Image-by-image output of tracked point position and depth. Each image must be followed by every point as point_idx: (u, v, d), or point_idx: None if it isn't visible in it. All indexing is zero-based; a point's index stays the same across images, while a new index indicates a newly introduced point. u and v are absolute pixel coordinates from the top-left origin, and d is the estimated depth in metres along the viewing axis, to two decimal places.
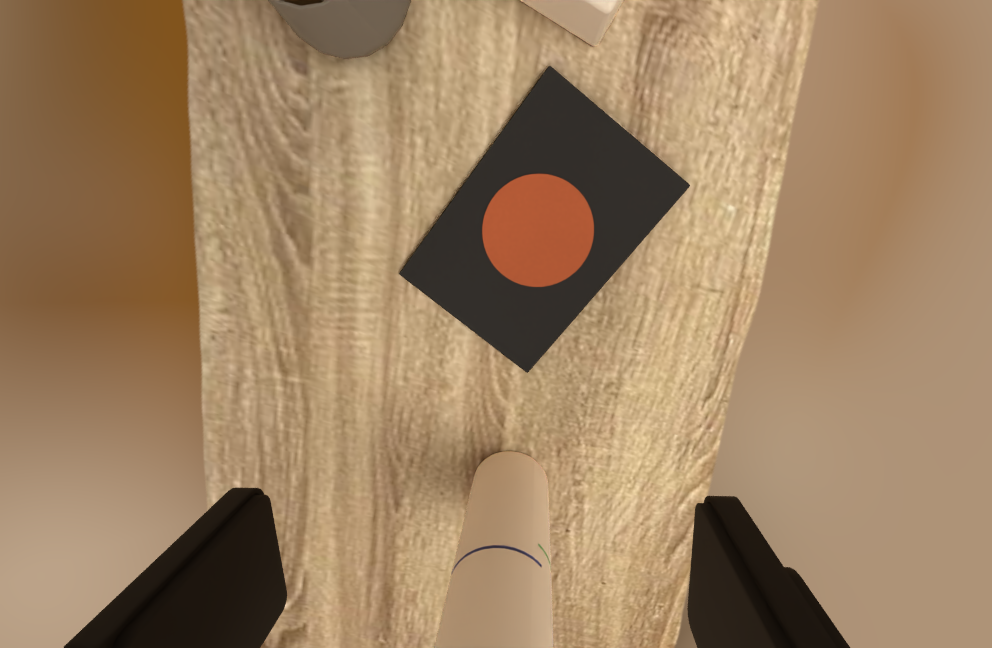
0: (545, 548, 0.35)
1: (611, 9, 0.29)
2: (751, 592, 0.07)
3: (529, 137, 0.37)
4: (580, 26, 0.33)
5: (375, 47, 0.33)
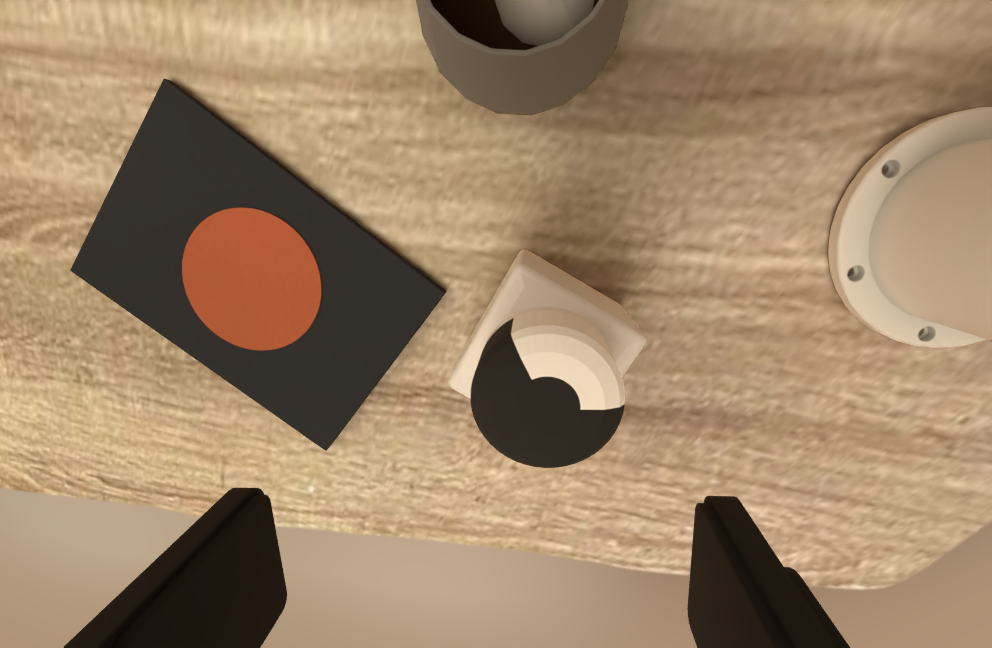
0: None
1: (451, 387, 0.24)
2: (751, 592, 0.07)
3: (362, 269, 0.29)
4: (472, 334, 0.27)
5: (432, 55, 0.22)
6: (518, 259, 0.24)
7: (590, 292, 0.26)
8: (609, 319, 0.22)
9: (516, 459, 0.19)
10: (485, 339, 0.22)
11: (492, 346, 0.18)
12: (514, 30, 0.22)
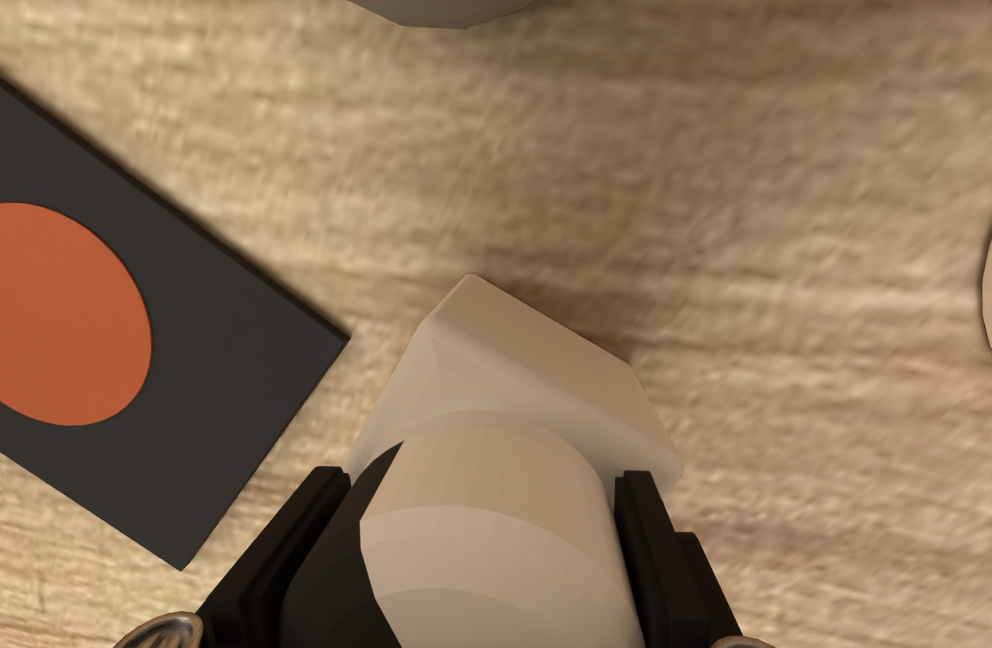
0: None
1: None
2: (641, 547, 0.08)
3: (213, 304, 0.18)
4: None
5: None
6: None
7: (577, 353, 0.15)
8: (609, 427, 0.11)
9: None
10: (368, 460, 0.12)
11: (319, 547, 0.07)
12: None
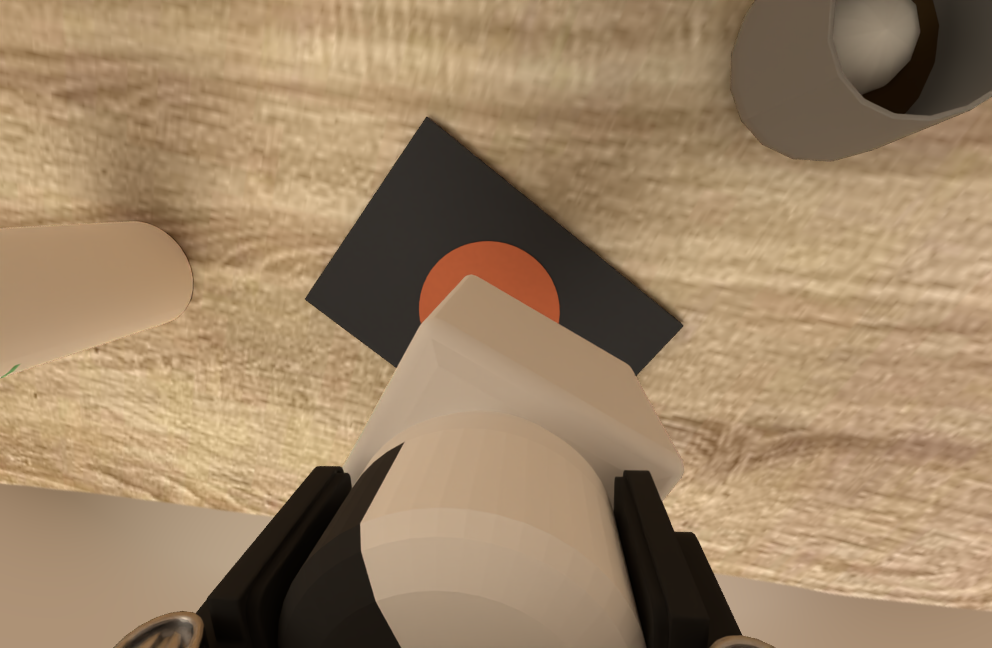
0: (17, 371, 0.23)
1: None
2: (640, 547, 0.08)
3: (603, 302, 0.30)
4: None
5: (742, 104, 0.23)
6: (442, 301, 0.13)
7: (577, 354, 0.15)
8: (609, 429, 0.11)
9: None
10: (368, 462, 0.12)
11: (319, 549, 0.07)
12: None
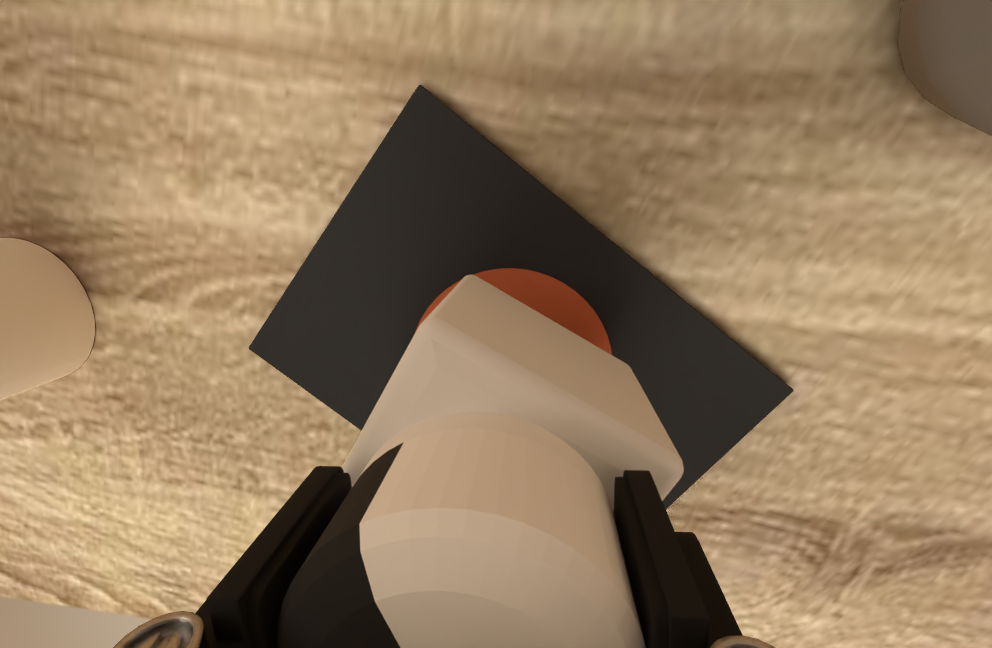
0: None
1: None
2: (640, 548, 0.08)
3: (676, 356, 0.20)
4: None
5: (943, 51, 0.14)
6: (441, 301, 0.13)
7: (577, 354, 0.15)
8: (609, 429, 0.11)
9: None
10: (367, 462, 0.12)
11: (318, 549, 0.07)
12: None
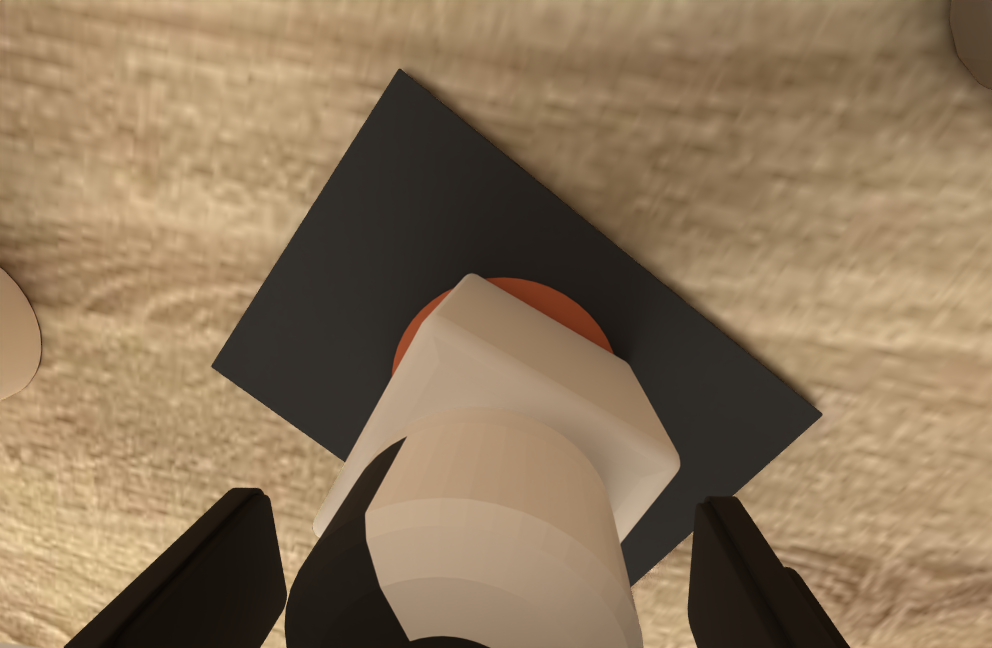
0: None
1: None
2: (751, 592, 0.07)
3: (691, 376, 0.18)
4: None
5: None
6: (443, 299, 0.13)
7: (576, 351, 0.15)
8: (607, 424, 0.11)
9: None
10: (371, 456, 0.12)
11: (325, 538, 0.08)
12: None
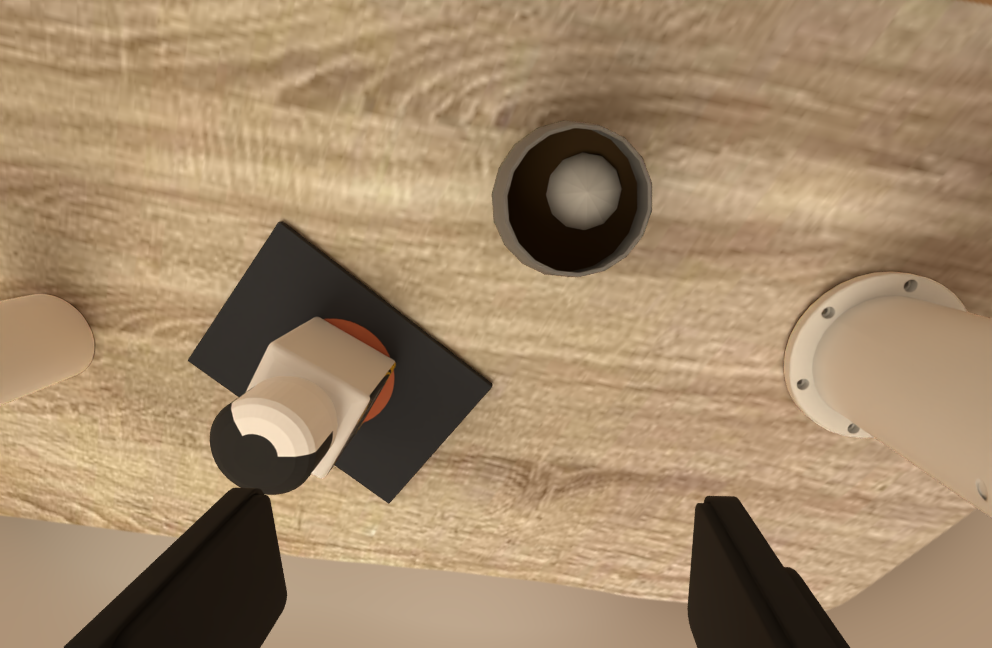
0: None
1: None
2: (751, 592, 0.07)
3: (428, 367, 0.37)
4: None
5: None
6: None
7: (353, 355, 0.34)
8: (338, 383, 0.30)
9: None
10: None
11: (221, 410, 0.26)
12: (560, 219, 0.30)
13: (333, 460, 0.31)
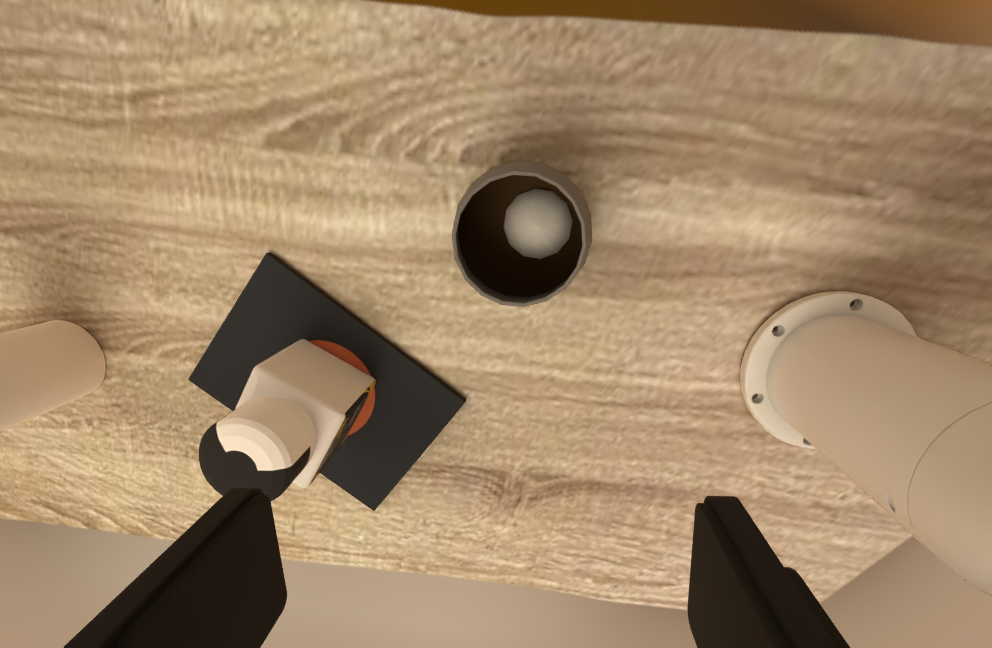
0: None
1: None
2: (751, 592, 0.07)
3: (405, 384, 0.40)
4: None
5: None
6: None
7: (334, 375, 0.37)
8: (316, 402, 0.33)
9: None
10: None
11: (208, 429, 0.29)
12: (517, 249, 0.33)
13: (314, 472, 0.34)
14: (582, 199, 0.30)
